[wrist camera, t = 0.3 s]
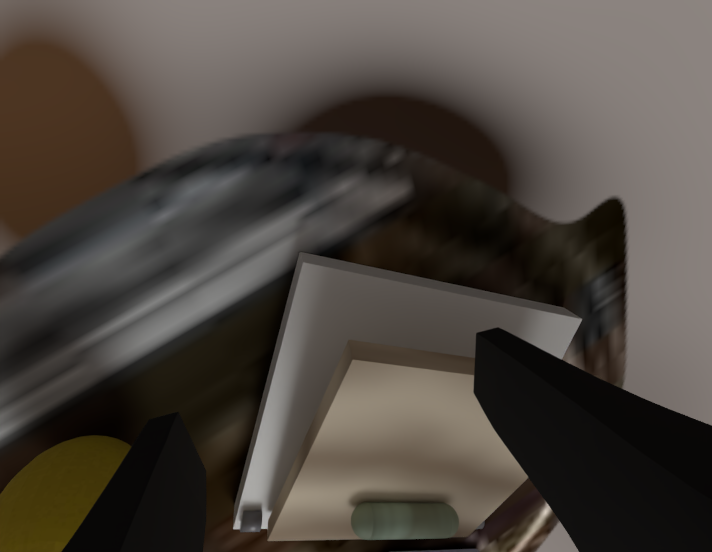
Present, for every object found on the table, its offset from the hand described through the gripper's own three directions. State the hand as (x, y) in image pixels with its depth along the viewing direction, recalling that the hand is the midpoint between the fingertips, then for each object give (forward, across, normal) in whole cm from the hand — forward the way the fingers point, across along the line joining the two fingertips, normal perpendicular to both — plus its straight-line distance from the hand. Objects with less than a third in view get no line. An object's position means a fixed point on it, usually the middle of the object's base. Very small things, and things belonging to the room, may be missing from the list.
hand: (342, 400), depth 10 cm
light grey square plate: (+9, -4, +11) cm, 15 cm away
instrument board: (+5, -4, +11) cm, 13 cm away
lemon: (+10, +11, +8) cm, 17 cm away
